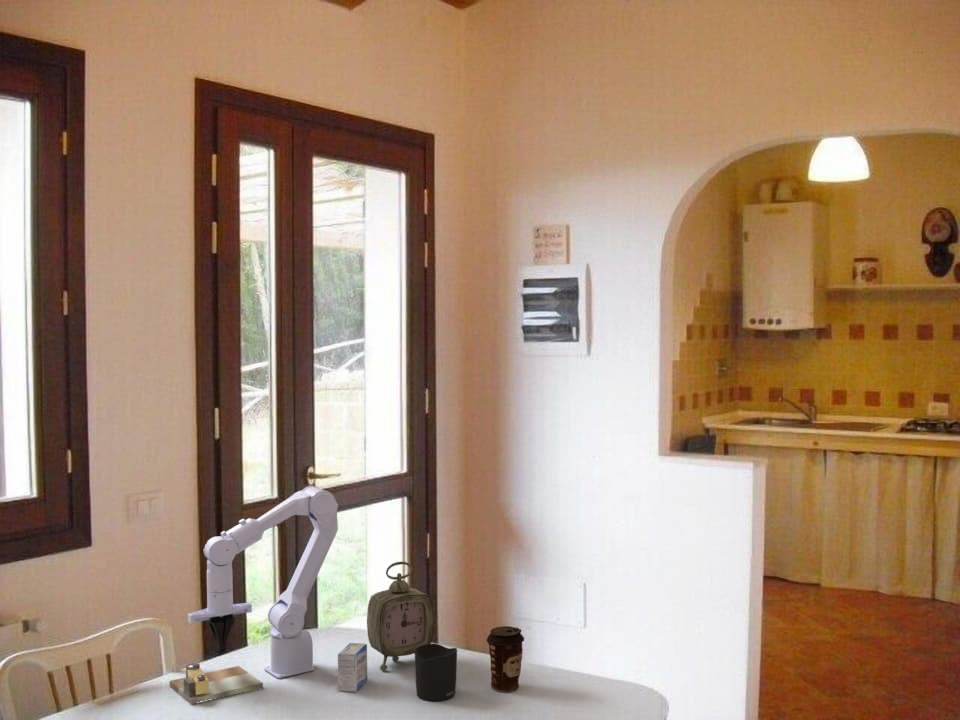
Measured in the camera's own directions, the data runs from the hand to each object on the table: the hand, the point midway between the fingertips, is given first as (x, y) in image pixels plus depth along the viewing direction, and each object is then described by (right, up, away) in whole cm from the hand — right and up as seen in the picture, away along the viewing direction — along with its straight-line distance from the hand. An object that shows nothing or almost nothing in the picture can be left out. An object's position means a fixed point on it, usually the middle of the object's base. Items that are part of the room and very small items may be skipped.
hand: (220, 648), depth 218 cm
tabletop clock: (+40, -8, +12) cm, 42 cm away
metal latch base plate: (0, -8, -3) cm, 8 cm away
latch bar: (-4, -6, -7) cm, 10 cm away
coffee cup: (+65, -8, -4) cm, 66 cm away
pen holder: (+50, -8, -8) cm, 51 cm away
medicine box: (+31, -8, -2) cm, 32 cm away
